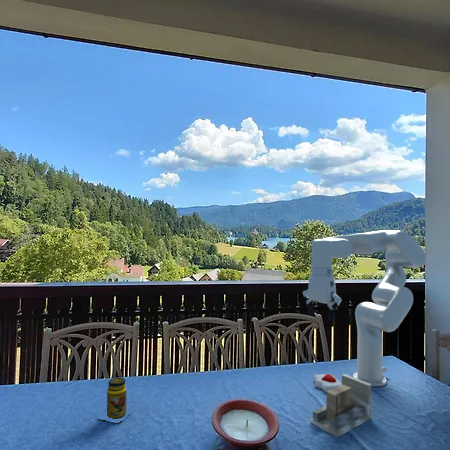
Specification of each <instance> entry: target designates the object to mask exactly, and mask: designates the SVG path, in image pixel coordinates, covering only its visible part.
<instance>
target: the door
mask: <svg viewBox="0 0 450 450" xmlns="http://www.w3.org/2000/svg"><path fill="white" fill-rule="evenodd" d="M351 393H352V388H351V387H349V386H346V385H344V384H343V385H341V386H339V387H337V388H334V389H332V390H330V391H327V393H326V405H327V408H326V420H327V421H329V422H330V419H332V418H334V417H336V416H338V415H340V414H343V413H345V412H347V411H349V410H351Z"/></svg>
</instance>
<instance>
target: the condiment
mask: <svg viewBox="0 0 450 450" xmlns="http://www.w3.org/2000/svg"><path fill="white" fill-rule="evenodd" d="M107 383H108V385H107V387H108V388H107V390H106V411H107V416H108V417H109V418H112V419H119V418H122V417H124V416H125V415H126V412H127V387H126V379H125V378H123V377H119V376H118V377H113V378H111V379H110V380H109V381H108V382H107Z"/></svg>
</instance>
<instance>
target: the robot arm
mask: <svg viewBox="0 0 450 450" xmlns="http://www.w3.org/2000/svg"><path fill="white" fill-rule="evenodd" d="M384 251H385V254H384V258H385V265H386V267H385V268H386V271H385V274H384V276H383V277H382V278H381V280H380V281H379V282H378V283H377V285H376V286H375V288H374V289H373V291H372V292H371V293H372V294H371V299H372V301H373V302H370V301H363V302H360V303H359V304H357V306H356V308H355V311H354V315H355V322H356V329H357V349H356V350H357V351H356V352H357V353H356V355H357V356H356V359H357V362H356V363H357V365H356V367H357V369H356V372H355V373H353V374H352V377H354V378H356V379H359V380H361V381H364V382H367V383H369V384H371V387H377V388H378V387H383V386H385V385H386V384H387V378H386V377H385V376H383V373H385V372H387V370H388V369H387V368H386V366H383V344H384V343H383V333H382V332H385V333H386V332H387V333H391V332H394V331H396V329H398V328H399V326H400V325H401V323H402V322H403V321H404V319H405V318H406V316H407V315H408V313H409V311H410V310H411V308H412V306H413V304H414V294H413V292H412V291H411V289H410V288H408V287H405V285H406V282H407V277H406V273H405V270H404V267H405V268H415V269H416V268H420V267H422V266H424V265H425V263H426V261H427V254H426V251H425V250H424V248H423V247H422V246H421V245H420V244H419V243H417V241H416V240H415V239H414V237H412V236H411V235H410V234H409V233H407V232H406V231H404V230H396V229H395V230H394V229H393V230H392V229H391V230H389V229H383V230H376V231H370V232H369V231H368V232H362V233H361V232H360V233H354V234H347V235H345V234H344V235H336V236H330V237H325V238H316V239H313V240H312V241H311V257H310V258H311V262H310V264H311V267H310V269H311V273H310V275H309V279H308V285H307V286H308V289H306V290H303V291H302V295H303V297H304V298H303V299H304V300H305V303H306V305H307V315H308V316H312V315H314V314H315V303H314V302H317V303H321V304H327V307H328V308H329V309H328V310H327V311H328V312H327V313H328V315H327V316H328V318H327V319H328V321H330V322H331V321H334V320H336V310H337V309H338V307H339V306H340V304H341V302H342V301H343V300H342V297H340V296H339V295H338V294H337V288H336V280H335V277H334V275H333V274H334V273H335V271H334V269H333V258H334V259H335V258H336V259H347V258H349V257H350V256H351V255H369V254H373V253H378V252H379V253H381V252H384Z"/></svg>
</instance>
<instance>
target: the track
mask: <svg viewBox="0 0 450 450" xmlns="http://www.w3.org/2000/svg"><path fill="white" fill-rule="evenodd" d="M341 383H342V385H343V384H344V385H346V386H349V387H351V388H352V393H351V410H349V411H347V412H345V413H343V414H340V415H338V416H336V417H334V418H332V419H330V422H329V421H327V420H326V408H327V404H326V405H323V406H321V407H319V408H317V409H314V410H313V411H312V417H311V418H310V420H309V421H310V424H312V425H314V426H316V427H318V428H320V430H322V431H325V432H326V433H328V434H331V435H332V436H334V437H336V438H338V437H340V436H342V435H344V434H345V433H347V432H349V431H351V430H353V429H355V428H357V427H358V426H360V425H362V424H364V423H365V422H368V421H369V420H371V419H372V386H371V384H369V383H367V382H364V381H361V380H359V379H356V378H354V377H353V376H350V375H348V374H346V373H345V374H342V375H341Z"/></svg>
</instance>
